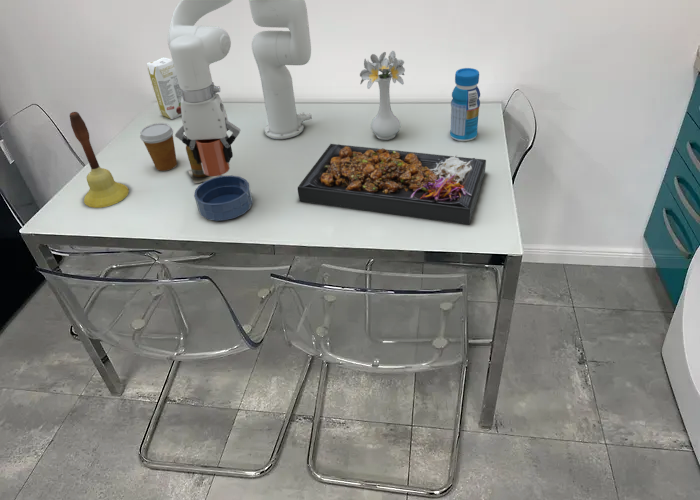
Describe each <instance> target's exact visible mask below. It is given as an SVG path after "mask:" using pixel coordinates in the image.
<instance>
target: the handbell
mask: <svg viewBox="0 0 700 500" xmlns="http://www.w3.org/2000/svg"><path fill="white" fill-rule="evenodd" d="M69 121H70V127H71V128H72V131H73V134H74V137H75V138H76V140H78V142H79V143H80V145H81V148H82V149H83V151H84V154H85V157H86V159H87V162H88V165H89V166H90V171H89V172H88V174H87V175H86V183H87V185H88V187H89V189H88V191H87V193H86V194H85V195H84V199H83V203H84V204H85V206H86V207H89V208H94V209H99V208H100V209H101V208H106V207H110V206H113V205H116V204H118V203H120V202H122V201H123V200H124V199H126V198H127V196H128V195H129V192H130V189H129V188H128V186H127V185H125V184H123V183H121V182H117V181H116V180H115V179H114V176H113V175H112V173H111V171H110V170H109V169H107V168H103V167H101V166H100V164H99V162H98V159H97V156H96V154H95V152H94V149H93V146H92V144H91V141H90V132H89V130H88V127H87V125H86V122H85V121H84V119H83V118H82V116H81V115H80V113H79V112H78V111H72V112H70V113H69Z"/></svg>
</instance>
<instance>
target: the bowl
mask: <svg viewBox="0 0 700 500" xmlns="http://www.w3.org/2000/svg"><path fill="white" fill-rule="evenodd" d="M193 196H194V200H195V203H196V207H197V210H198V213H199V214H200V217H202V218H204V219H206V220H210V221H214V222H215V221H217V222H218V221H227V220H232V219H235V218H238V217H240V216H242V215H244V214H245V213H246V212H248V211H249V210H250V209H251V207H252V205H253V196H252V192H251V185H250V182H248V180H247V179H246V178H244V177H241V176H238V175H233V174H231V175H230V174H229V175H219V177H215V178H212V179H210V180H207V181H204V182H201V183H200V184H199V185H198V186H196V188H195V190H194V195H193Z"/></svg>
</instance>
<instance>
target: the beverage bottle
mask: <svg viewBox="0 0 700 500" xmlns="http://www.w3.org/2000/svg"><path fill="white" fill-rule="evenodd" d="M454 83H455V86H454V88H453V90H452V92H451V101H450V109H451V110H450V130H449V135H450V137H451V138H452V139H453V140H455V141H459V142H469V141H472V140H475V139H476V138H477V136H478V127H479V116H480V107H481V100H480V98H481V90H480V88H479V86H478V84H479V83H480V71H479V70H478V69H477V68H471V67H463V68H459V69H456V71H455V75H454Z"/></svg>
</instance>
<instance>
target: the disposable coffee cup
mask: <svg viewBox="0 0 700 500" xmlns="http://www.w3.org/2000/svg"><path fill="white" fill-rule="evenodd" d="M139 132H140V135H139V139H140V140H141V141H142V142H143V144H144V146H145V148H146V150H147V153H148V154H149V156H150V158H151V160H152V163H153V164H154V166H155V169H156V170H157V171H159V172H160V171H161V172H164V171H170V170H173V169H174V168H176V167H177V166H178V161H177V154H176V148H175V141H174V129H173V128H172V126H171V125H170V124H168V123H166V122H157V123H152V124H149V125H147V126H144V127H143V128H141V130H140V131H139Z"/></svg>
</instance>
